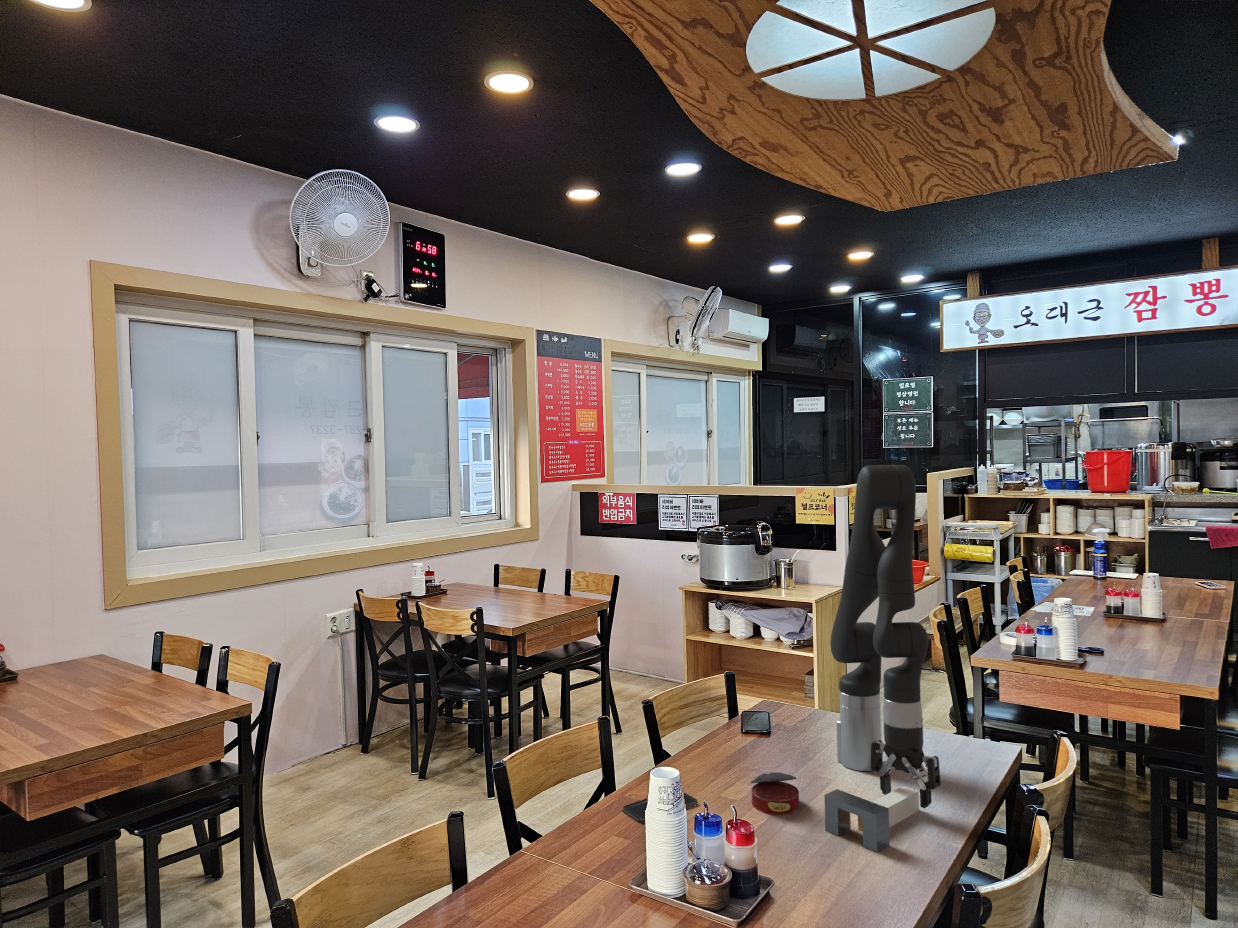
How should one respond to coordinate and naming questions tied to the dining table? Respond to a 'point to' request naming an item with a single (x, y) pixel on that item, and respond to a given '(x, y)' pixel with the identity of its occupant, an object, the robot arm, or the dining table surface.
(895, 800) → the bar
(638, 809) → the phone
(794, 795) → the canned food
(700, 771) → the dining table surface
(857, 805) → the u-shaped slotted block
